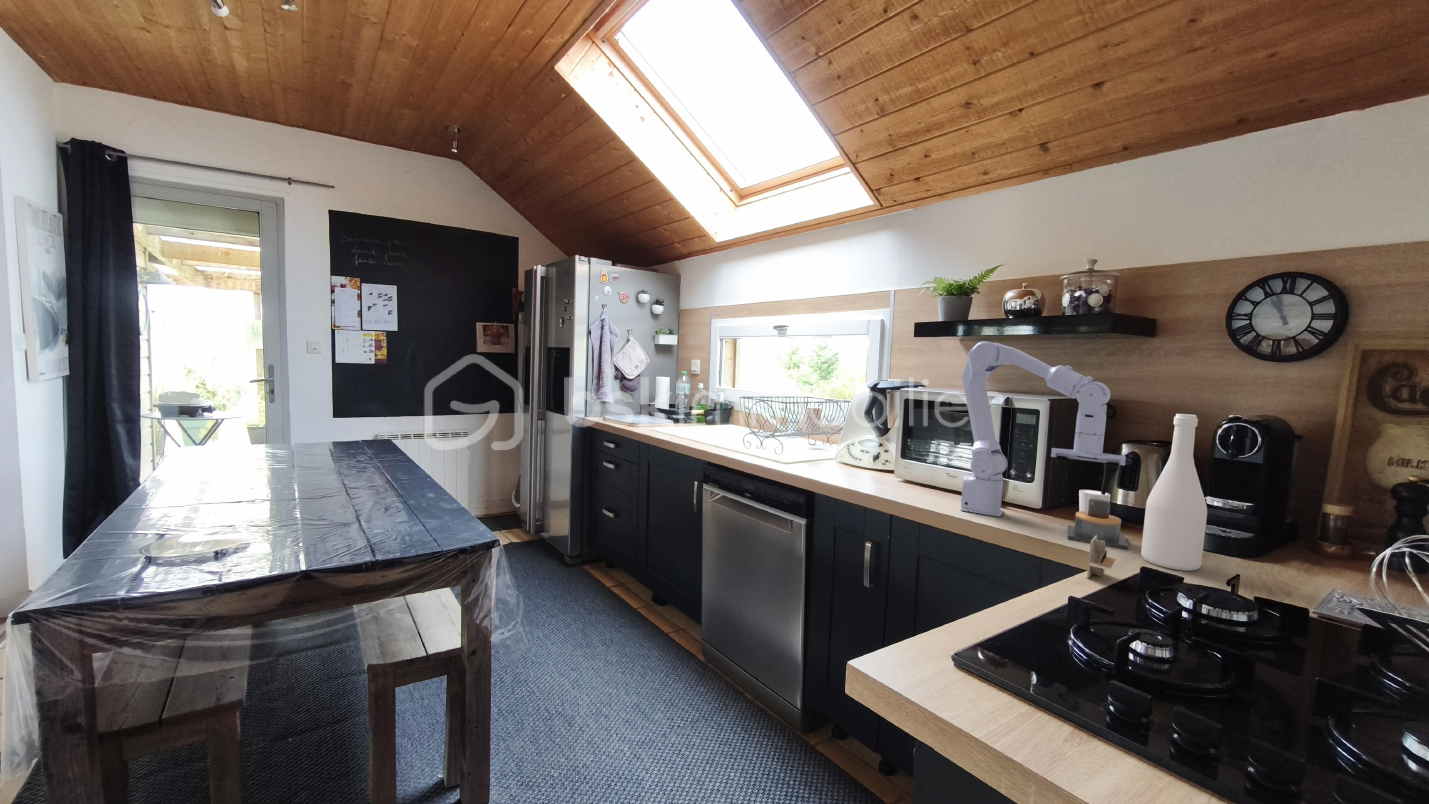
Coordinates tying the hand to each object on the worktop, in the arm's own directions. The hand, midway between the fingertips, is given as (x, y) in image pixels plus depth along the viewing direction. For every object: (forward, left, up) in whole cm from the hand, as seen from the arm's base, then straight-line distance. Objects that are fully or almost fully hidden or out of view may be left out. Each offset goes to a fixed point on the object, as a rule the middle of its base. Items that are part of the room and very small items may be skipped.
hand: (1083, 491), depth 137 cm
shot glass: (+3, +17, -10) cm, 20 cm away
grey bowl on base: (+3, -4, -10) cm, 11 cm away
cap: (+3, -4, -8) cm, 10 cm away
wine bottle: (+15, -15, -10) cm, 24 cm away
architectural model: (+2, -34, -10) cm, 36 cm away
